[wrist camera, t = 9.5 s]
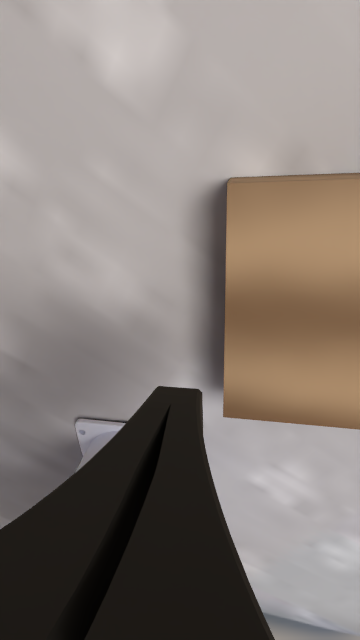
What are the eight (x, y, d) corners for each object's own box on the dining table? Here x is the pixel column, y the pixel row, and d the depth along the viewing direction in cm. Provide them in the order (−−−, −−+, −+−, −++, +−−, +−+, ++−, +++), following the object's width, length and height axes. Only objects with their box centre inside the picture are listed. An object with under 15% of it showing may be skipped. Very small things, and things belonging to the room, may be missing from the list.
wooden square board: (439, 398, 19) (470, 439, 16) (226, 383, 21) (223, 416, 18) (530, 166, 13) (599, 170, 11) (230, 177, 15) (227, 183, 13)
